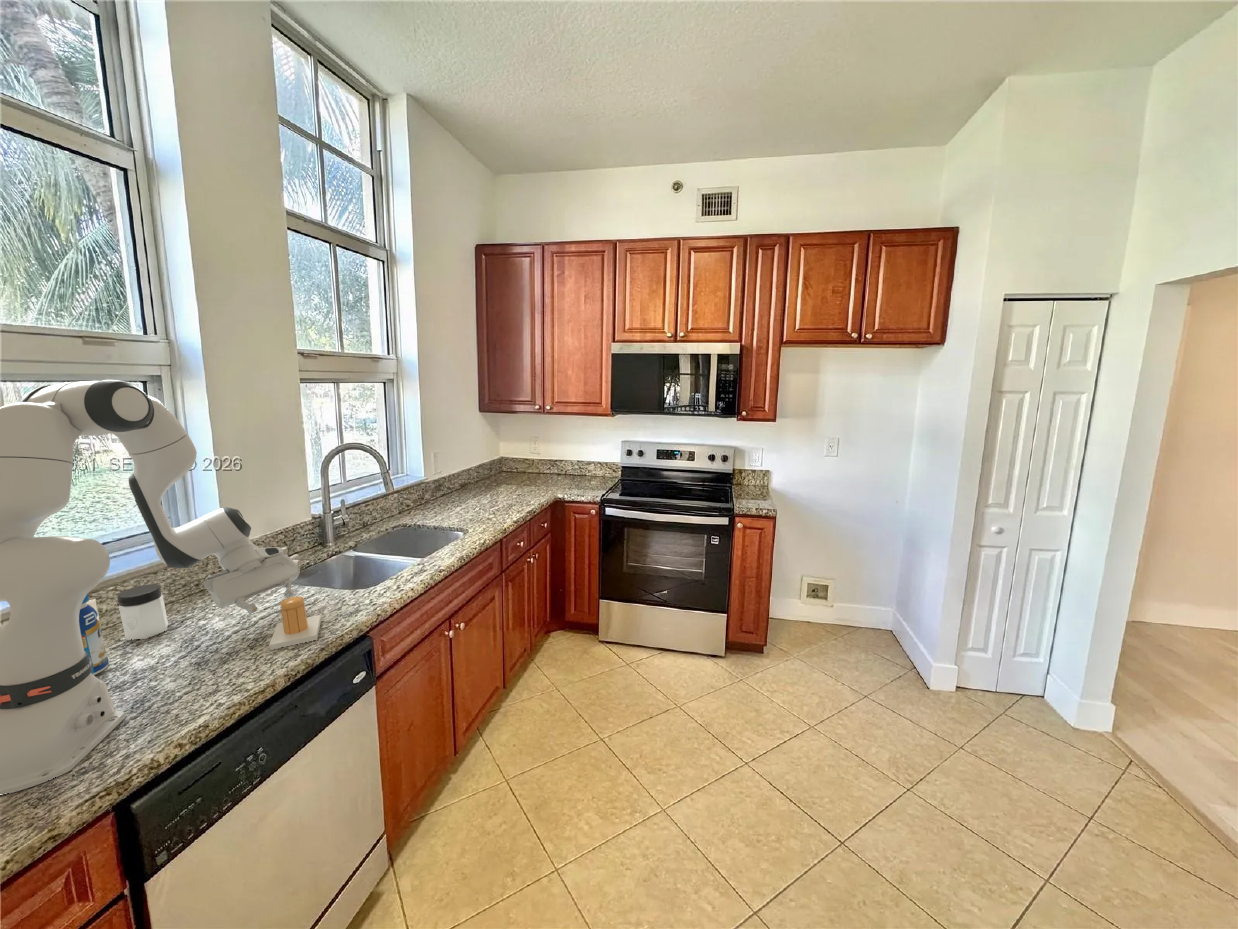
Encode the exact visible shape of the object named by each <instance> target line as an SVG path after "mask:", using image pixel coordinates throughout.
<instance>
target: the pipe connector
mask: <svg viewBox="0 0 1238 929" xmlns="http://www.w3.org/2000/svg"><path fill="white" fill-rule="evenodd" d="M280 548H281V549H282V550H283V553H282V554H284V555H287V556H289V555H288V548H287V546H286V547H280ZM289 557H290V558H291V559H292V560H293V561H294V563H295V564H296V565H297V566H298V567H299V566H301V564H302V560H300V556H299V554H298V553H296V554H293V555H291V556H289Z"/></svg>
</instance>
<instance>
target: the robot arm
mask: <svg viewBox="0 0 1238 929" xmlns="http://www.w3.org/2000/svg"><path fill="white" fill-rule="evenodd" d="M109 434H112V435H114V436H115V437H116V438H118V440H119V441H120V443H121V445H122V446H123V447H124V449H125V450H126V452H127V453H128V454H129V456H130V457H131V458H132V462H133V472H132V473H131V474H130V476H129V477H128V487H129V489H130V492H131V493H132V496H133V498H134V501H135V504H136V505H137V508H138V511H139V513H140V515H141V517H142V519H143V521H144V523H145V525H146V527H147V530H148V531H149V533H150V534H151V537H152V539H153V543H154V549H155V552H156V555H157V557H158V558H159V561H160V562H161V563H162V564H164V565H166V566H167V567H168V568H172V569H189V568H191V567H193V565H196V564H197V563H199V562H200V561H202V560H204V559H205V558H207V557H209V556H211V555H214V556H215V557H217V560H218V564H219V565H220V567H221V568H222V571H219V572H217V573H214V574H210V575H207V576H206V578H204V579H203V583H202V585H203V586H204V588H205V589H206V590H207V591H208V592H209V593H210V594H209V595H210V596H211V598H212V601H213V603H214V605H216V607H218V608H221V609H224V608H226V607H227V608H228V607H230V606H232V605H236V606H237V607H238V608H240V609H243V610H246V611H247V613H248V615H251V614H254V613H256V612H257V611H258V607H257V606H256V603H252V604H251V603H249V602H247V601H246V600H247V599H250V598H253V597H255V596H258V595H260V594H263V593H265V592H268V591H270V590H273V589H276V588H278V587H281V586H282V587H283V589H285V590H284V592H283V596H284V597H285V599H287V598H290V597H294V591H293V590H292V582H294V581H296V580H297V579H298V577H299V575H300V573H301V570H300V568H299V566H297V565H296V564H295V563H294V561H293V560H292V559H291V558H290V557H291V556H289V555H288V556H287V555H284V554H282V553H283V550H282V549H281V548H282V547H281V546H273V547H271V546H270V547H257V545H256V544H254V543H253V542H252V541H251V539H250V537H249V536H250V535H251V530H252V527H251V525H250V524H249V523H248V522H247V521H245V519H244V516H243V514H242V513H241V511H240V510H239V509H236V508H232V507H227V506H224V507H221V508H216V509H214V510H213V511H210V512H207V513H205V514H203V515H201V516H200V517H197V518H196V519H194V520H191V521H189V522H187V523H184V524H181V525H180V526H177V527H172V526H171V523H170V521H169V519H168V517H167V514H166V512H165V510H164V507H163V505H162V498H163V496H164V495H165V493H166V492H167V491H168V490H169V489H170V488H171V487H172V486H174V485H175V483H177V482H178V481H180V479H182V478H183V477H184V476H185V475H186V474H188V472H189V471H190V470H191V469H192V467H193V465H194V464H195V462H196V459H197V453H198V452H197V449H196V447H195V445H194V444H195V443H193V441H192V439H191V437H190V436H189V434H188V432H187V431H186V430H185V428H184V426H183V425H182V424H181V423H180V421H179V420H178V418H176V416H175V415H174V414H173V413H172V412H171V411H170V410H169V409H168V408H167V407H166V406H165V405H164V404H163V403H162V401H160V400H159V399H157V398H156V397H153V396H151V395H147V394H146V392H144V391H143V389H141V388H140V387H139V386H137V385H135V384H134V383H132V382H127V381H125V380H120V379H118V380H117V379H101V380H85V381H84V380H83V381H82V380H75V381H74V380H73V381H69V382H63V383H62V382H61V383H57V384H49V385H43V386H39V387H37V388H34V389H31V391H28V392H27V393H25V394H24V395H23V396H22V397H21V398H20V399H19V402H15V403H14V402H13V403H9V404H6V405H2V406H1V407H0V602H7V604H8V605H9V609H10V613H9V619H8V621H6V622H5V623H3V624H2V625H0V794H5V793H9V794H12V793H13V794H14V793H15V792H19V791H22V790H26V789H29V788H32V787H35V786H38V785H41V784H43V783H47V782H49V781H52V780H53V778H54V779H56V778H58V777H60V776H62V775H64V774H66V773H68V772H71V770H72V769H74V768H75V767H76V766H77V765H79V763H80V762H81V761H82V760H83V759H84V758H86V757H87V755H88V754H89V753H91V751H93V749H94V748H95V747H96V746H98V745H99V744H100V743H101V742H102V741H103V740H104V739H105V738H106V737H107V736H108V735H110V733H111V732H112V731H113V730H114V729H115V728H116V727H117V726H118V725H120V724H121V723H122V722H123V721H124V719H125V718H126V714H125V711H122V710H117V709H115V706H114V704H113V700H112V698H111V694H110V693H109V692H110V691H109V690H108V686H107V685H106V682H105V681H104V680H101V679H99V678H98V677H96V675H93V674H92V673H91V672H92V665H91V663H92V662H91V658H90V657H89V654H88V653H87V652H85V651H84V647H83V642H82V637H81V632H80V626H79V612H80V608H81V605H82V602H83V600H84V598H85V597H86V595H87V594H88V595H89V593H90V591H92V590H93V589H94V588H96V587H97V586H98V585H100V584H101V582H102V581H103V580H104V578H105V577H106V575H107V573H108V572H109V570H110V564H111V560H110V555H109V552H108V550H107V548H106V547H105V546H104V545H103V544H102V543H101V542H100V541H97V540H96V539H93V538H92V539H91V538H86V537H79V536H78V537H75V536H66V535H57V536H56V535H55V536H54V535H52V536H38V537H37V536H35V534H36V532H37V531H38V528H40V526H41V524H43V522H45V520H46V519H48V518H49V517H50V516H53V515H54V514H56V513H58V512H61V511H62V510H63V509H65V507H67V505H68V503H69V501H70V498H71V497H70V496H71V486H72V485H71V484H72V476H73V466H74V446H75V442H76V441H77V439H78V438H79V437H80V436H88V437H95V436H105V435H109ZM55 777H56V778H55ZM48 780H49V781H48Z"/></svg>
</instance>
